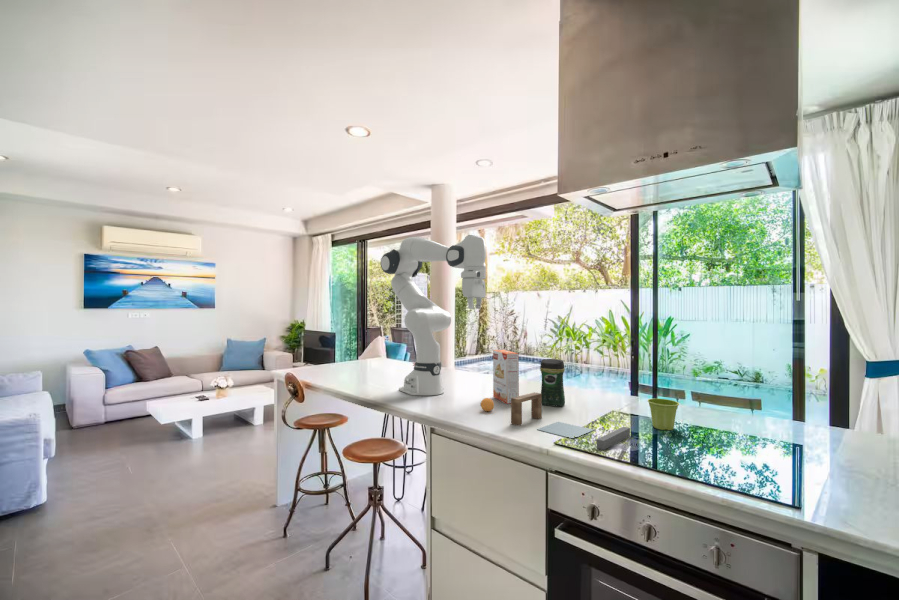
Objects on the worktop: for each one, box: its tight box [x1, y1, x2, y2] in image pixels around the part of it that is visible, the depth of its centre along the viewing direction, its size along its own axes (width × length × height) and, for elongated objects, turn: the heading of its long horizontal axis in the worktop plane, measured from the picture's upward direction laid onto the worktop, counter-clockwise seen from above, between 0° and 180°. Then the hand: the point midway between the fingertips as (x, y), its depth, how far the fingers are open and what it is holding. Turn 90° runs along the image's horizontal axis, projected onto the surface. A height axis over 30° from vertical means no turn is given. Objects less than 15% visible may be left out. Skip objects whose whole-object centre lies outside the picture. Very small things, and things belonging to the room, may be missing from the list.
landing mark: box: [536, 421, 595, 439], centre depth 133 cm, size 13×13×1 cm
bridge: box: [510, 391, 543, 426], centre depth 144 cm, size 3×14×9 cm, turn 134°
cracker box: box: [492, 349, 520, 405], centre depth 176 cm, size 14×6×21 cm, turn 17°
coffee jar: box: [539, 358, 566, 407], centre depth 168 cm, size 10×8×19 cm
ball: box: [480, 397, 495, 412], centre depth 156 cm, size 5×5×5 cm
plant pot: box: [647, 398, 680, 431], centre depth 136 cm, size 9×9×9 cm
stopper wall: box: [596, 426, 631, 451], centre depth 121 cm, size 2×18×2 cm, turn 134°
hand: (474, 308), depth 167 cm, fingers open, 8 cm apart
